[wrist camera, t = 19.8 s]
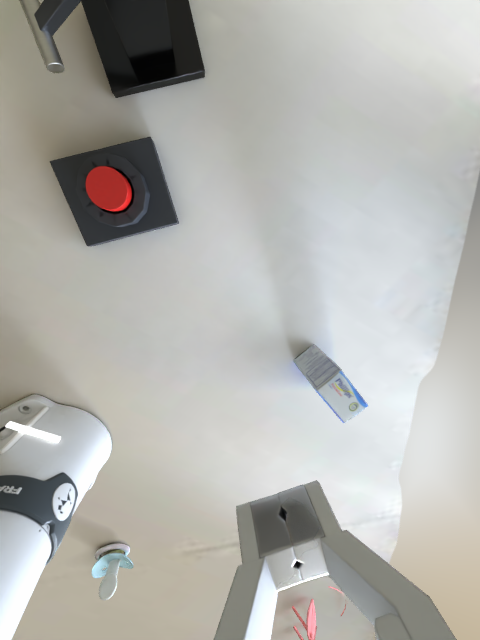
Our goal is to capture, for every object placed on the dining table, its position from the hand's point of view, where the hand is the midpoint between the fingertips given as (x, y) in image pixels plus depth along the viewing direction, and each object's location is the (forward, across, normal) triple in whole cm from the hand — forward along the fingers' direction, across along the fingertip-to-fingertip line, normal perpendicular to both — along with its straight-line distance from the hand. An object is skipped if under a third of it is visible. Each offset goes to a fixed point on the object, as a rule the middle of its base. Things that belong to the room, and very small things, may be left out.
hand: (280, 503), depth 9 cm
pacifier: (+29, +33, +42) cm, 61 cm away
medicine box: (+29, -12, +15) cm, 35 cm away
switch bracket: (+29, 0, -29) cm, 41 cm away
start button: (+26, +8, -16) cm, 31 cm away
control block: (+29, +8, -16) cm, 34 cm away
